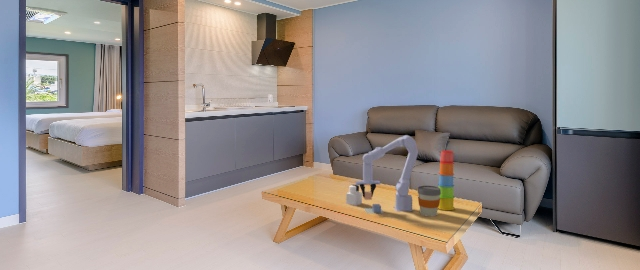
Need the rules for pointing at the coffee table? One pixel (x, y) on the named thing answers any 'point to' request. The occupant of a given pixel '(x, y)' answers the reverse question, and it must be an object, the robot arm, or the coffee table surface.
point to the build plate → (369, 210)
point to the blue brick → (376, 208)
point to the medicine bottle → (354, 195)
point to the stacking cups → (446, 181)
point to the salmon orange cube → (368, 195)
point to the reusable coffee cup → (429, 200)
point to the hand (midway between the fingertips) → (367, 196)
